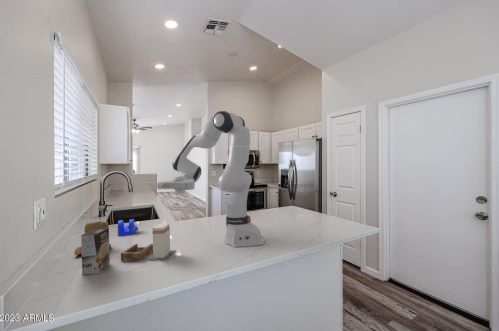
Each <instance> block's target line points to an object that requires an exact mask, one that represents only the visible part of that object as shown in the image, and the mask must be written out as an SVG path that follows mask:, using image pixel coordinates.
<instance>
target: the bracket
mask: <svg viewBox="0 0 499 331" xmlns="http://www.w3.org/2000/svg"><path fill="white" fill-rule="evenodd" d="M135 223H136V222H135V219H134V218H132V219H131V218H130V219H129V221H128V224H127V225H125V221H124V220H123V219H121V220H120V219H119V220H118V221H117V237H122V236H123V237H124V236H132V234H133V235H134V234H135V232H136V231H137V229H138V225H137V224H135Z"/></svg>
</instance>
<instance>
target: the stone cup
mask: <svg viewBox="0 0 499 331" xmlns="http://www.w3.org/2000/svg"><path fill="white" fill-rule="evenodd" d="M109 224H110V223H109V222H108V221H106V220H103V221H102V220H100V221H99V220H98V221H89V222H88V221H87V222H86V223H85V226H84V234H85V233H87V232H89V231H92V230H94V229H104V228H109ZM109 229H110V228H109ZM111 246H112V244H111V243H109V249H110V248H111ZM73 253H74V255H75V256H78V255H82V245H81V246H77V247H75V249H74V251H73Z"/></svg>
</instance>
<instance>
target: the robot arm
mask: <svg viewBox="0 0 499 331" xmlns="http://www.w3.org/2000/svg"><path fill="white" fill-rule="evenodd" d="M223 133H224V134H229V136H230V141H229V149H228V150H229V151H228V158H227V162H226V165H225V167H224V170H223V172H222V173H221V175H220V176H219V179H218V181H217V182H218V186H219V188H220V190H221V191H223V192H225V193H229V197H228V198H227V201H226V216H225V217H226V218H225V225H226V231H225V232H226V234H225V237H224V243H225V244H227V245H229V246H231V247H233V248H242V247H244V248H245V247H254V246H255V247H256V246H262V245H264V244H265V243H266V237H265V236H264V235H262V233H261V229H260V227H258V226H257V225H256V224H254V223H252V222H251V221H252V218H251V216H250V215H248V214H247V213H248V212H247V209H248V208H247V206H248V205H247V204H248V202H247V201H248V195H249V191H250V190H249V189H250V186H251V184H252V176H251V174H250V173H249V172H247V171H245V168H246V165H247V164H248V162H249V157H250V147H251V133H250V129H249V128H248V127H246V122H245V120H244V118H242V117H241V116H239V115H236V114H235V113H232V112H230V111H226V110H220V111H217V112H216V113H215V114H214V115H213V116H211V117H210V118H208V120H207V122H206V123H204V126H203V127H202V129H201V131H200V133H198V134H197V135H193V136H192V137H191V138H190V139H189V140H188V141H187V143H186V144H185V146H184V147H183V148H182V150H181V151H180V152H179V154H178V155H177V156H176V157H175V158H174V159H173V161H172V163H171V165H172V168H173V170H174V171H176V172H177V173H180V174H182V175H179V176H176V177H174V178H173V179H172V180H171V181H170V180H169V181H158V182H157V183H156V187H157V188H156V189H158V190H163V189H164V190H167V189H168V190H169V189H170V190H171V189H173V190H174V191H176V192H180V193H181V192H185V191H188V190H189V191H191V190H194V189H195V185H196V184H195V183H196V182H198V180H199V179H200V177H201V175H202V167H201V166H200V165H198V164H197V163H195V162H193V161H192V160H190V159H188V157H187V156H188V155H189V154H190V153H191V151H192V150H193V149H194V148H200V149H212V148H213V147H215V146H216V145H217V143H218V141H219V140H220V139H221V138H220V137H221V135H222V134H223Z"/></svg>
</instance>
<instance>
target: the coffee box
mask: <svg viewBox="0 0 499 331" xmlns="http://www.w3.org/2000/svg"><path fill="white" fill-rule="evenodd" d="M109 230H110V228H104V229H94V230H92V231H89V232H87V233H85V232H84V233H82V234H81V235H80V236H81V237H80V238H81V241H80V242H81V246H82V254H81V275H82V276H83V275H97V274H99V273H101V272H102V271H103V270H104V269H105V268H107V267H108V266H109V265H110V264H111V263H110V262H111V261H110V260H111V259H110V248H109V244H110V231H109Z"/></svg>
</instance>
